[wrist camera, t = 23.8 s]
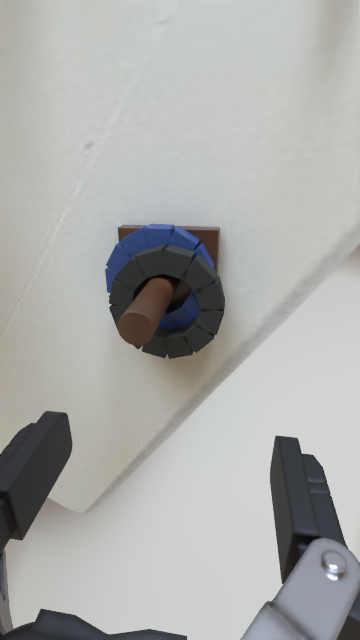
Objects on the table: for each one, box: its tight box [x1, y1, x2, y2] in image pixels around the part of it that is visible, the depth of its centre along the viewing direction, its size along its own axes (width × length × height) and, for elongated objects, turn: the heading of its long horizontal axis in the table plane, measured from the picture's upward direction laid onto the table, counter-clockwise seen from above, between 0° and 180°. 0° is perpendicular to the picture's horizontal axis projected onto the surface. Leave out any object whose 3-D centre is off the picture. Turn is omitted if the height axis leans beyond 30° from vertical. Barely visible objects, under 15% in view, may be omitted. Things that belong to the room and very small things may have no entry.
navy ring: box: [105, 224, 215, 329], centre depth 30 cm, size 10×10×2 cm
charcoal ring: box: [109, 244, 225, 359], centre depth 29 cm, size 10×10×2 cm
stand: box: [118, 225, 220, 345], centre depth 27 cm, size 9×9×12 cm
